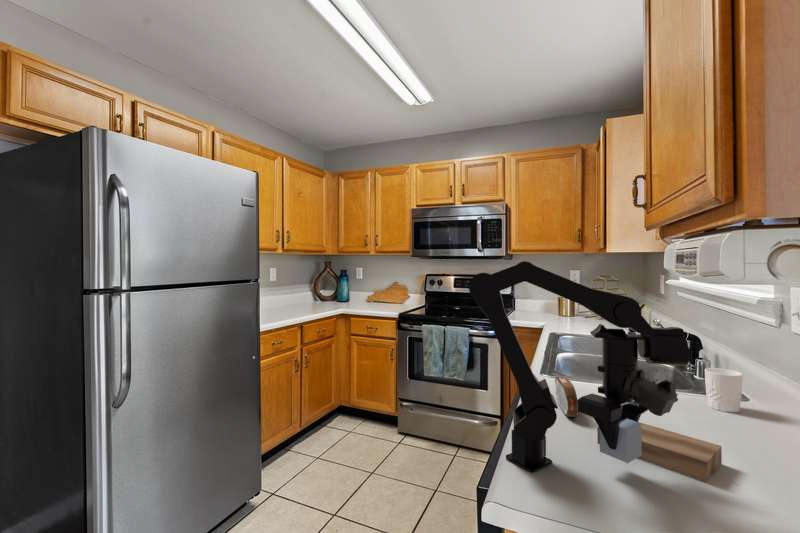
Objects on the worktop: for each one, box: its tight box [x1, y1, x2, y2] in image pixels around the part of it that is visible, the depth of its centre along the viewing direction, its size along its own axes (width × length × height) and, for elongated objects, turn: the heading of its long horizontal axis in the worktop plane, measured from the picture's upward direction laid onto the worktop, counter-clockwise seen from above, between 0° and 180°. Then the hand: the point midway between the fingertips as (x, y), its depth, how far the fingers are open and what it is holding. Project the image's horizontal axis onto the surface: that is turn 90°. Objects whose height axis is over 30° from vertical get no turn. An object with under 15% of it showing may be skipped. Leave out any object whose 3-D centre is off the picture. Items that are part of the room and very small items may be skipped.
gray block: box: [599, 419, 642, 464], centre depth 70 cm, size 5×5×6 cm
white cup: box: [704, 367, 744, 414], centre depth 102 cm, size 8×8×10 cm
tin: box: [554, 375, 579, 418], centre depth 100 cm, size 15×3×8 cm, turn 168°
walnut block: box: [596, 421, 723, 483], centre depth 77 cm, size 10×19×4 cm, turn 38°
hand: (620, 445), depth 70 cm, fingers closed on gray block, 5 cm apart
